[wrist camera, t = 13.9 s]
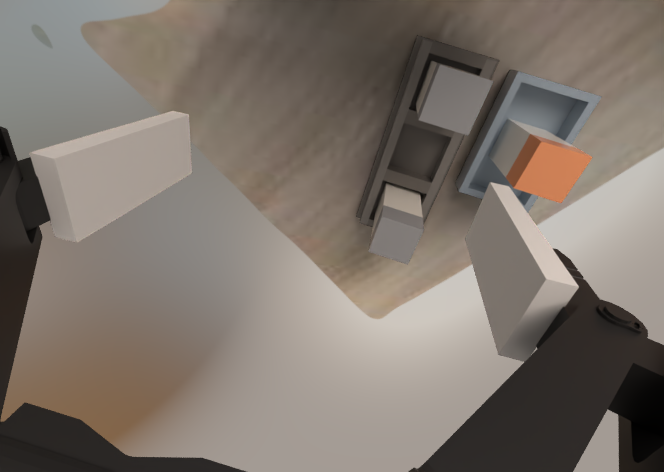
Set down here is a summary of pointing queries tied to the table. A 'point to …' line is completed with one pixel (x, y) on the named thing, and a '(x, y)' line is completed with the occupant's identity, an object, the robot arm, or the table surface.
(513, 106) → the tray
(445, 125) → the block
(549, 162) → the block
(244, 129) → the table surface
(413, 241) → the block
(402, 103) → the block
